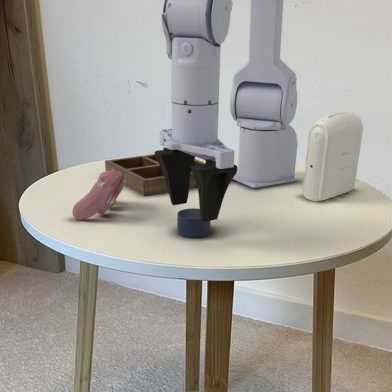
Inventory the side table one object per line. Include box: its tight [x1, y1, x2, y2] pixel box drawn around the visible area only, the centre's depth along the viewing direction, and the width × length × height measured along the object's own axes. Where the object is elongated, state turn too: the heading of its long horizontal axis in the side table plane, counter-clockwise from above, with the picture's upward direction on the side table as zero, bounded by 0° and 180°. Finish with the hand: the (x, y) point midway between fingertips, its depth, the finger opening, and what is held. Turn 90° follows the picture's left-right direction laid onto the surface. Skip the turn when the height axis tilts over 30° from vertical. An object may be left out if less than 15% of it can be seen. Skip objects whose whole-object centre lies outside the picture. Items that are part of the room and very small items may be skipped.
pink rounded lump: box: [71, 169, 127, 221], centre depth 86 cm, size 10×5×7 cm, turn 168°
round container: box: [176, 207, 211, 239], centre depth 80 cm, size 4×4×3 cm
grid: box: [104, 153, 206, 197], centre depth 102 cm, size 14×14×2 cm
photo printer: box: [302, 111, 364, 202], centre depth 93 cm, size 10×4×12 cm, turn 133°
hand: (193, 211), depth 79 cm, fingers open, 7 cm apart
